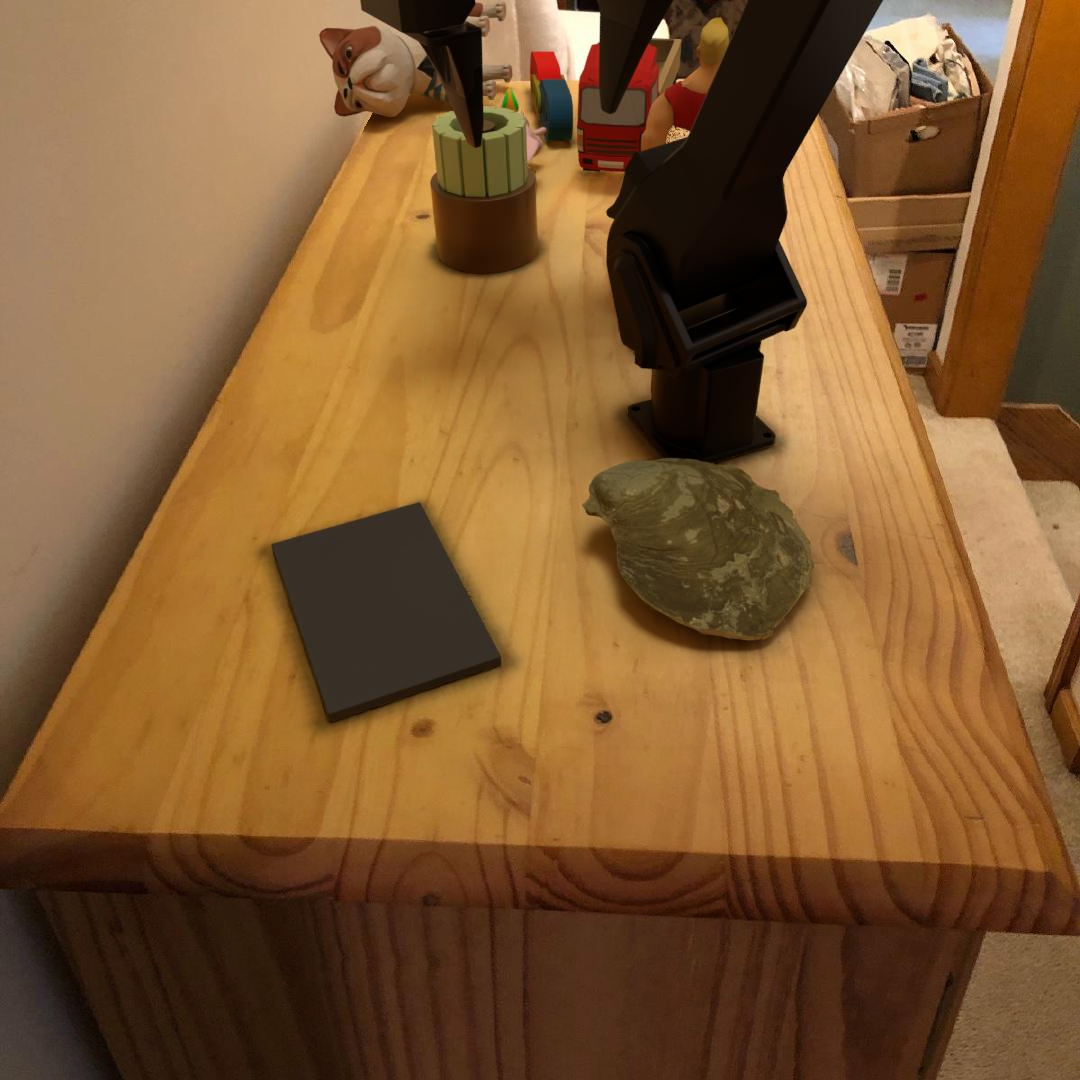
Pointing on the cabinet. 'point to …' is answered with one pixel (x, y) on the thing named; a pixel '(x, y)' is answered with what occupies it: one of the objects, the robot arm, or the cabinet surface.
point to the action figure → (687, 89)
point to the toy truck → (622, 107)
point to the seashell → (704, 544)
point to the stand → (486, 226)
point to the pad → (381, 610)
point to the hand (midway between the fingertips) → (543, 128)
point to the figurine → (396, 66)
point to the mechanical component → (551, 96)
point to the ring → (481, 155)
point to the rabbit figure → (532, 136)
